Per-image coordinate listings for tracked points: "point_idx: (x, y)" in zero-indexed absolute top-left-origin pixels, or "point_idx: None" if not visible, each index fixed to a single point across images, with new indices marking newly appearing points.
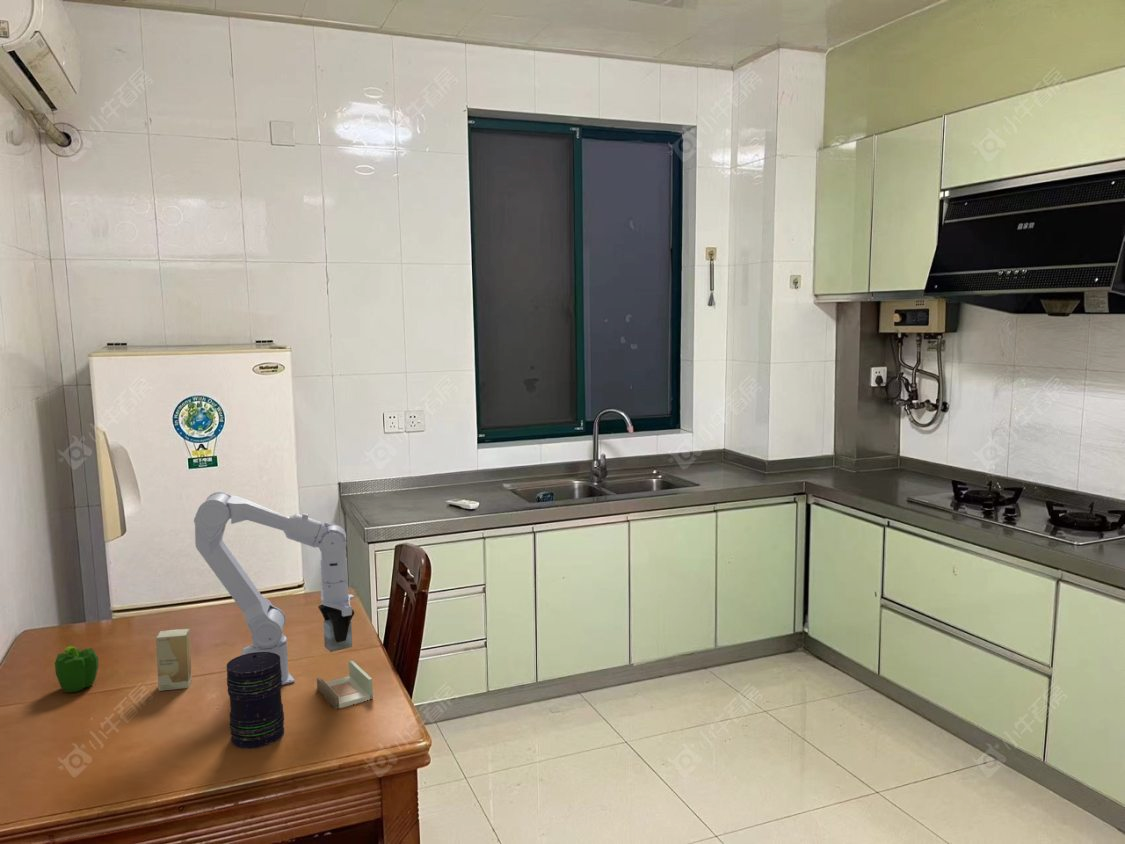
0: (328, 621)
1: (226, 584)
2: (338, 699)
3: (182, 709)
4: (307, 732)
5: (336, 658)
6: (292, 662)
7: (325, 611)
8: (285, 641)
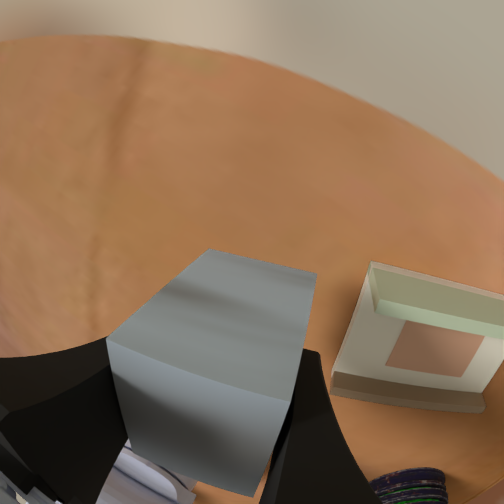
0: (156, 453)
1: None
2: (484, 402)
3: (212, 487)
4: (475, 448)
5: (147, 193)
6: (107, 300)
7: (93, 488)
8: (164, 473)
